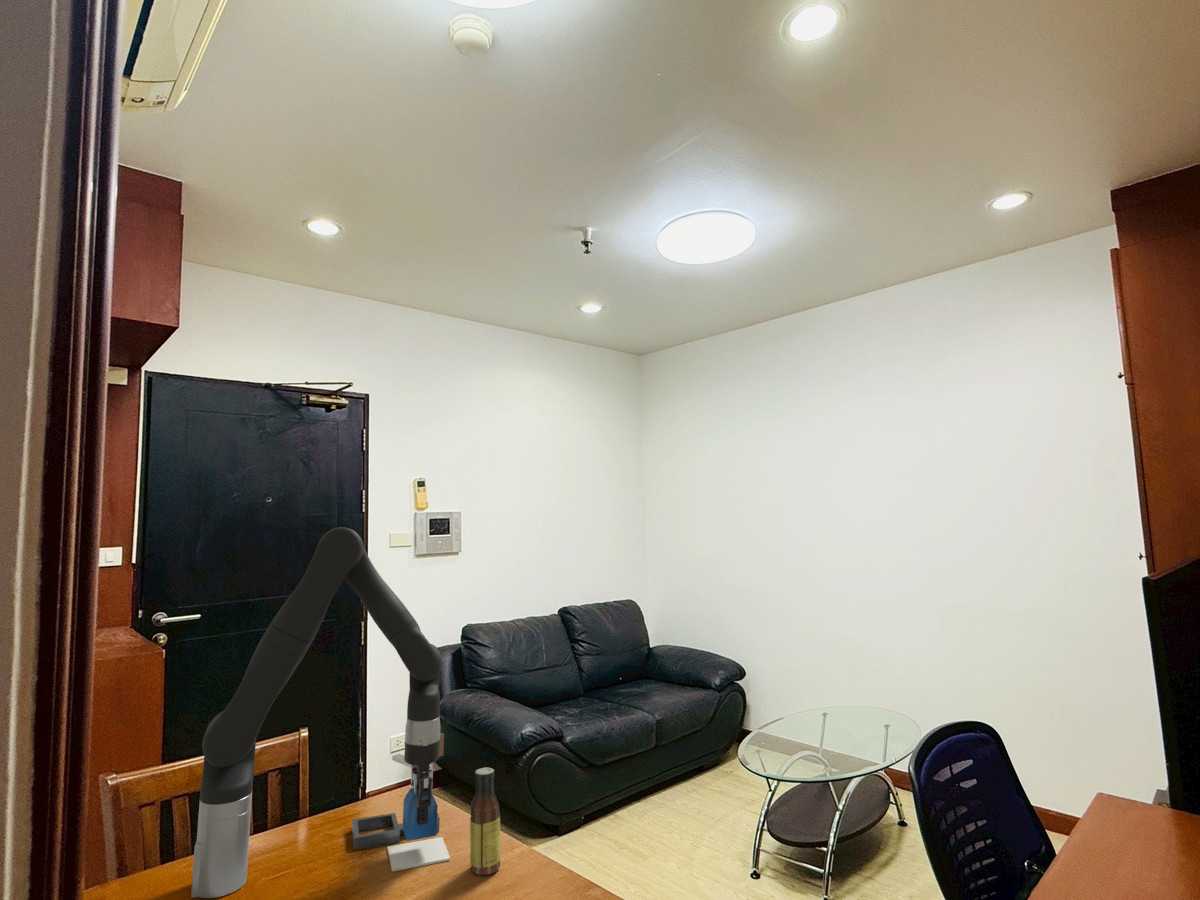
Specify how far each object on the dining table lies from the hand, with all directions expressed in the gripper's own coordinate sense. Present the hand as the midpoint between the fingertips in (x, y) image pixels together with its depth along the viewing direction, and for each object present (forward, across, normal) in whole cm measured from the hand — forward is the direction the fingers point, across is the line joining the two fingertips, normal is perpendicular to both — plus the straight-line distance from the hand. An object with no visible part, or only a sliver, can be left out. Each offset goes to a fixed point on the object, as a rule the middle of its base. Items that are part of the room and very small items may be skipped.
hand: (419, 816), depth 145 cm
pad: (+8, 0, 0) cm, 8 cm away
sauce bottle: (+8, +11, +12) cm, 18 cm away
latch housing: (+8, -12, -3) cm, 15 cm away
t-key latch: (+5, -16, +1) cm, 17 cm away
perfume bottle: (+3, 0, 0) cm, 3 cm away
